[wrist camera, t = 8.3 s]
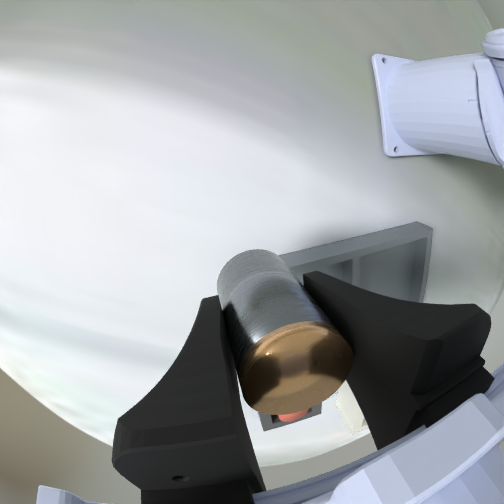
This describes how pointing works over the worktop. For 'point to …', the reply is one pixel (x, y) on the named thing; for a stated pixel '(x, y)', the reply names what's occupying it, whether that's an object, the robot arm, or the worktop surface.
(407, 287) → the tray
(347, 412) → the cup
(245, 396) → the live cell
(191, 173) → the worktop surface
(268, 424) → the box
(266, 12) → the worktop surface
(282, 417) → the tester button
